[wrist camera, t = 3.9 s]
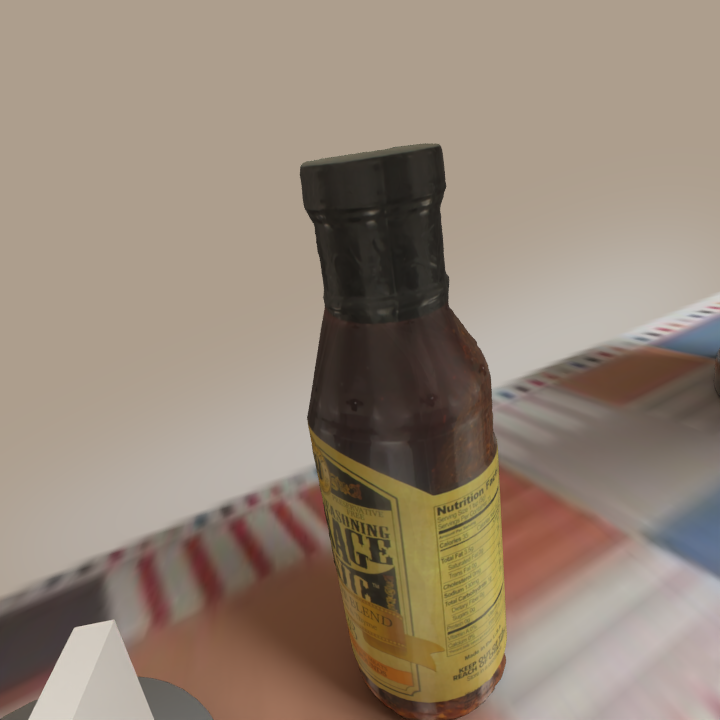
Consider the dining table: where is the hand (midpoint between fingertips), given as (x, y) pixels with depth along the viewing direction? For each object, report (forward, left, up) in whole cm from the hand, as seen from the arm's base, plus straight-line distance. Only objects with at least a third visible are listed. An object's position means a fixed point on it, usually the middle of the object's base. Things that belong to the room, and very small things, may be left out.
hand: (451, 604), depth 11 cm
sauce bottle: (0, -8, -11) cm, 14 cm away
